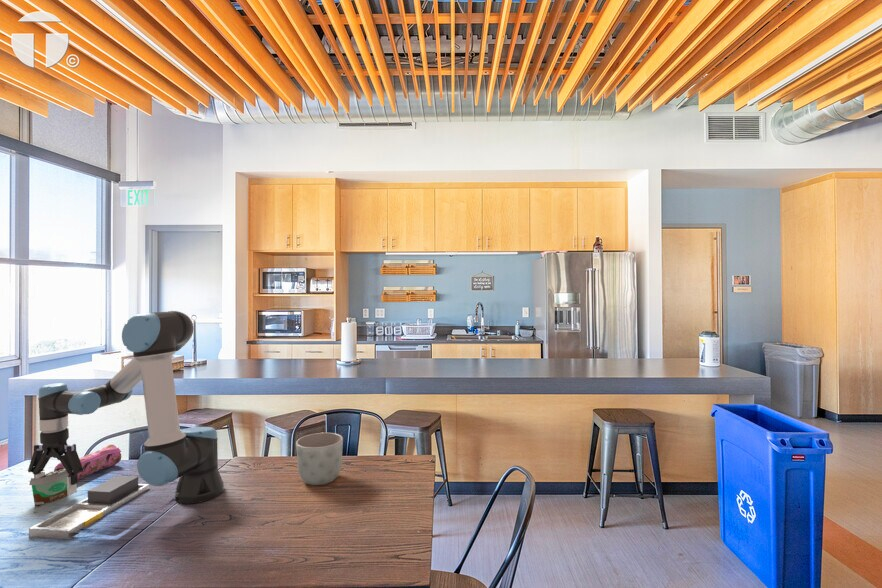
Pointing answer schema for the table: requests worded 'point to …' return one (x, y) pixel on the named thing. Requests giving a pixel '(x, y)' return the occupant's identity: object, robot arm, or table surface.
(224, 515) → the table surface
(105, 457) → the pencil case
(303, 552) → the table surface
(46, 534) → the rack
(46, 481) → the food container
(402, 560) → the table surface
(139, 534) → the table surface
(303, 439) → the planter
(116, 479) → the grey rectangular box
